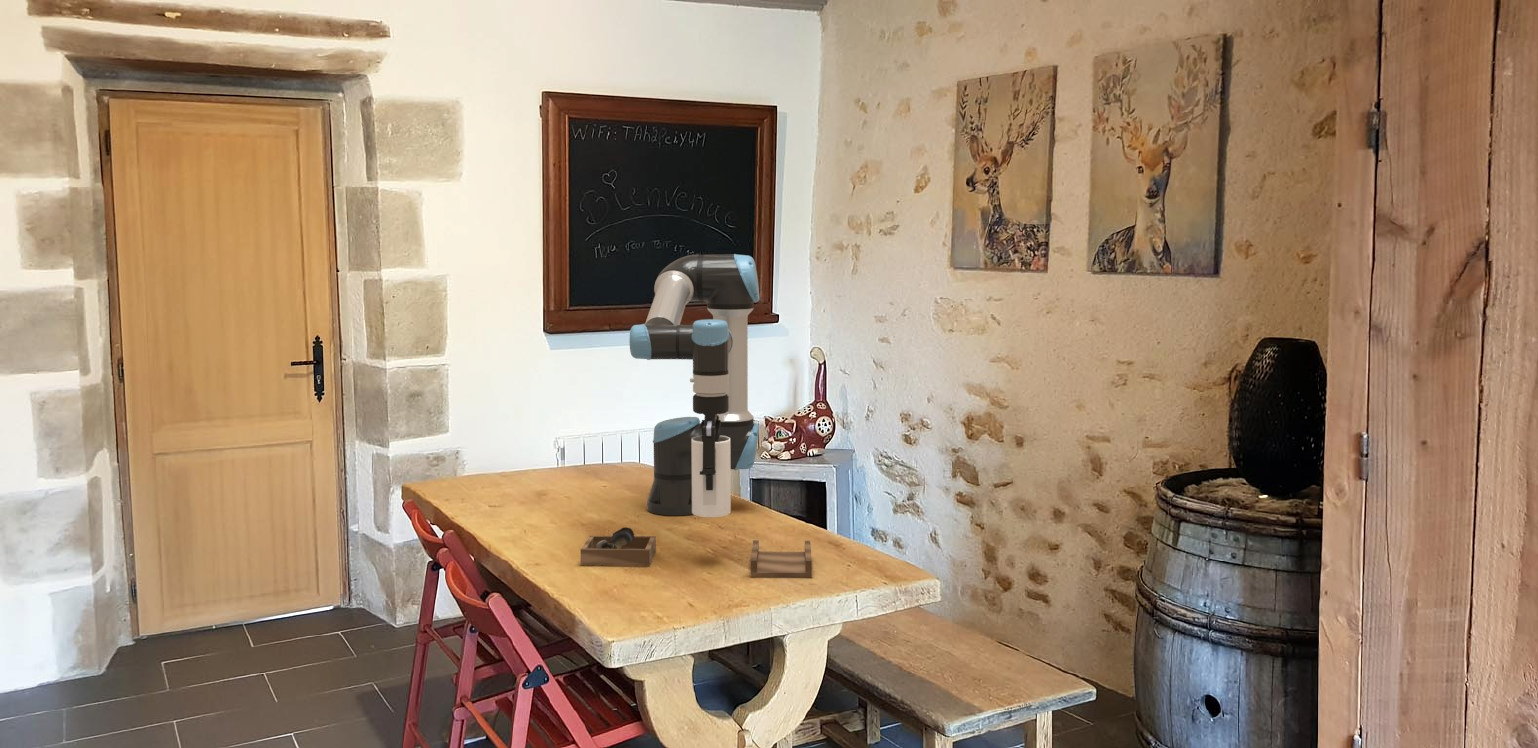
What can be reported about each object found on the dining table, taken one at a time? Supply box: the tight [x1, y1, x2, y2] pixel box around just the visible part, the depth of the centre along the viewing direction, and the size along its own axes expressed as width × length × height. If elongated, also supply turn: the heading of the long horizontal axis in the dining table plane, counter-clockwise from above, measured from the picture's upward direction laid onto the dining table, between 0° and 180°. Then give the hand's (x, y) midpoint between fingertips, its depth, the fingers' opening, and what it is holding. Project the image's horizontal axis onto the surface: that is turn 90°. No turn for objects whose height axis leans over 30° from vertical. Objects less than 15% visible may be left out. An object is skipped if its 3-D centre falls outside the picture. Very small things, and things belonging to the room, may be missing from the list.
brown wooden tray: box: [750, 539, 813, 579], centre depth 240 cm, size 16×12×4 cm
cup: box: [691, 435, 732, 518], centre depth 242 cm, size 8×8×16 cm
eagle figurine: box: [596, 526, 636, 549], centre depth 245 cm, size 8×7×9 cm
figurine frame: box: [580, 535, 657, 567], centre depth 246 cm, size 12×14×4 cm
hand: (711, 499), depth 242 cm, fingers closed on cup, 8 cm apart
